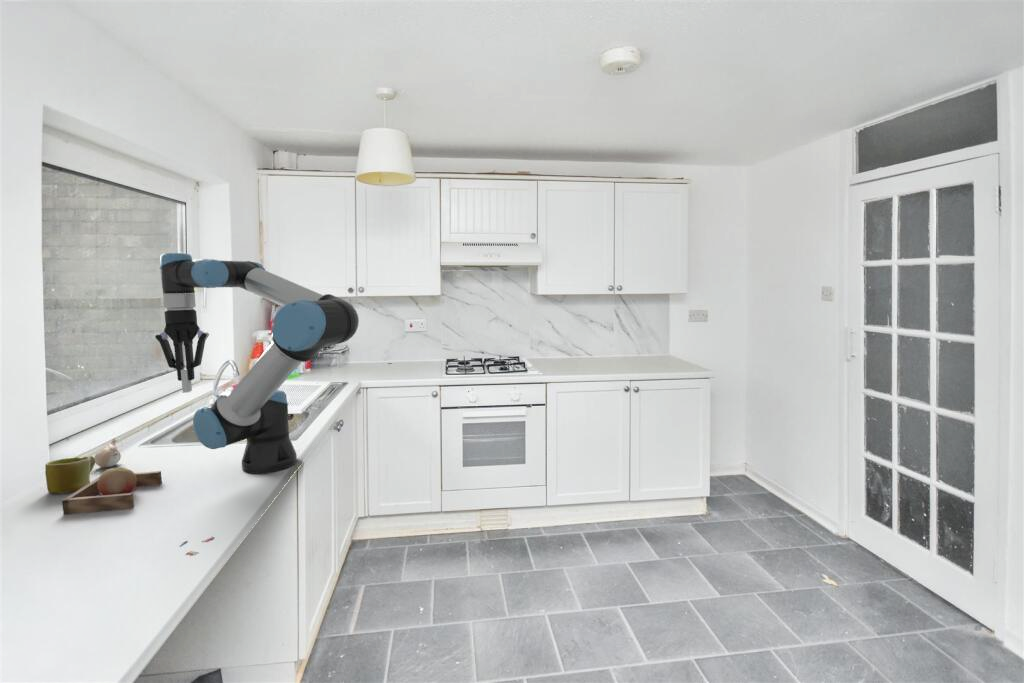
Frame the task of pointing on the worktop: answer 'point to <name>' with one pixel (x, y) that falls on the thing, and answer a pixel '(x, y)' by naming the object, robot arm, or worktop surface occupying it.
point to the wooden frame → (106, 496)
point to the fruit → (117, 481)
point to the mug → (68, 474)
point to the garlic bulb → (108, 455)
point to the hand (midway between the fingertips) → (187, 391)
